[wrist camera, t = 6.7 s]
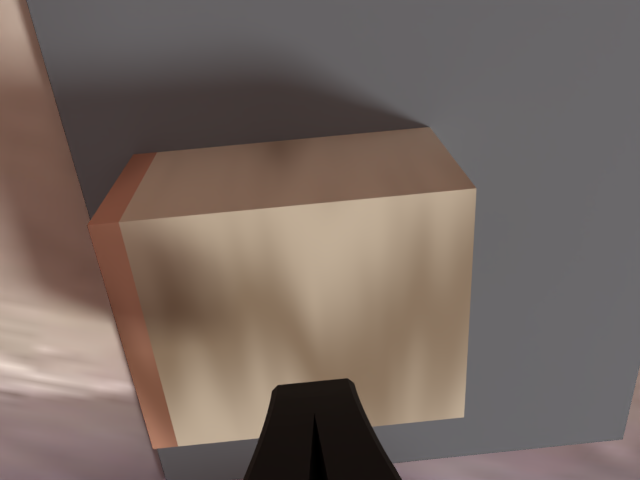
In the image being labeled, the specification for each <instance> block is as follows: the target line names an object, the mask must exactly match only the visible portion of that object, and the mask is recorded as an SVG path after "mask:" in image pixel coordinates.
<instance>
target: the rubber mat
mask: <svg viewBox="0 0 640 480" xmlns="http://www.w3.org/2000/svg"><path fill="white" fill-rule="evenodd" d="M26 1H27V4H28V8H29V11H30V14H31V18H32V21H33V25H34V28H35V32H36V35H37V38H38V42H39V45H40V49H41V52H42V56H43V59H44V62H45V66H46V69H47V73H48V76H49V80H50V83H51V87H52V90H53V93H54V97H55V100H56V104H57V107H58V111H59V114H60V117H61V121H62V124H63V128H64V131H65V135H66V138H67V141H68V145H69V148H70V152H71V155H72V159H73V162H74V166H75V169H76V172H77V176H78V179H79V183H80V186H81V190H82V193H83V196H84V200H85V203H86V207H87V210H88V214H89V217H90V220H91V219H92V217H93V216H94V214H95V212H96V211H97V209H98V208H99V206H100V205H101V203H102V202H103V200H104V199H105V197H106V196H107V194H108V192H109V191H110V189H111V188H112V186H113V185H114V183H115V182H116V180H117V179H118V177H119V176H120V174H121V173H122V171H123V169H124V168H125V166H126V165H127V163H128V162H129V160H130V159H131V157H132V156H133V154H144V153H154V152H165V151H176V150H187V149H198V148H208V147H219V146H230V145H241V144H251V143H262V142H273V141H284V140H295V139H305V138H316V137H327V136H338V135H349V134H359V133H370V132H381V131H392V130H402V129H413V128H424V127H430V128H431V129H432V131H433V132H434V133H435V135H436V136H437V137H438V139H439V140H440V141H441V143H442V144H443V145H444V146H445V148H446V149H447V150H448V152H449V153H450V154H451V156H452V157H453V158H454V160H455V161H456V162H457V163H458V165H459V166H460V167H461V169H462V170H463V171H464V173H465V174H466V175H467V177H468V178H469V179H470V180H471V182H472V183H473V184H474V186H475V187H476V188H477V189H476V207H475V225H474V244H473V262H472V281H471V299H470V317H469V336H468V354H467V373H466V391H465V409H464V417H462V418H452V419H443V420H433V421H423V422H413V423H403V424H394V425H384V426H374V427H372V428H373V430H374V432H375V434H376V436H377V437H378V439H379V441H380V443H381V445H382V447H383V448H384V450H385V452H386V454H387V455H388V457H389V459H390V460H391V462H392V463H399V462H409V461H419V460H428V459H438V458H448V457H457V456H467V455H477V454H486V453H496V452H506V451H515V450H525V449H534V448H544V447H554V446H563V445H573V444H583V443H592V442H602V441H612V440H621V439H623V435H624V431H625V427H626V422H627V418H628V414H629V409H630V405H631V401H632V397H633V392H634V388H635V384H636V379H637V375H638V371H639V366H640V0H26ZM258 440H259V438H256V439H247V440H237V441H227V442H217V443H207V444H198V445H188V446H178V447H168V448H158V449H157V451H158V454H159V457H160V461H161V464H162V468H163V471H164V475H165V478H166V480H235V479H244V476H245V474H246V471H247V469H248V466H249V464H250V461H251V459H252V456H253V454H254V451H255V448H256V445H257V443H258Z"/></svg>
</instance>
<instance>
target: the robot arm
mask: <svg viewBox="0 0 640 480" xmlns="http://www.w3.org/2000/svg"><path fill="white" fill-rule="evenodd" d="M243 480H402V479H401V477H400V476H399V474H398V472H397V470H396V469H395V467H394V465H393V464H392V462H391V460H390V459H389V457H388V455H387V454H386V452H385V450H384V448H383V447H382V445H381V443H380V441H379V439H378V437H377V436H376V434H375V432H374V430H373V428H372V426H371V424H370V422H369V420H368V417H367V415H366V413H365V411H364V409H363V406H362V404H361V402H360V399H359V396H358V394H357V391H356V388H355V384H354V382H352V381H351V380H350V379H348V378H343V379H333V380H323V381H313V382H303V383H293V384H283V385H277V386H276V387H275V388H274V389H273V390H272V393H271V399H270V403H269V407H268V411H267V415H266V418H265V422H264V425H263V428H262V431H261V434H260V437H259V440H258V443H257V445H256V448H255V451H254V454H253V456H252V459H251V461H250V464H249V466H248V469H247V471H246V474H245V476H244V479H243Z"/></svg>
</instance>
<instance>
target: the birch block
mask: <svg viewBox="0 0 640 480" xmlns="http://www.w3.org/2000/svg"><path fill="white" fill-rule="evenodd" d="M476 189H477V188H476V187H475V186H474V184H473V183H472V182H471V180H470V179H469V178H468V177H467V175H466V174H465V173H464V171H463V170H462V169H461V167H460V166H459V165H458V163H457V162H456V161H455V160H454V158H453V157H452V156H451V154H450V153H449V152H448V150H447V149H446V148H445V146H444V145H443V144H442V143H441V141H440V140H439V139H438V137H437V136H436V135H435V133H434V132H433V131H432V129H431V128H430V127H424V128H413V129H402V130H392V131H381V132H370V133H359V134H349V135H338V136H327V137H316V138H305V139H295V140H284V141H273V142H262V143H251V144H241V145H230V146H219V147H208V148H198V149H187V150H176V151H165V152H154V153H144V154H133V156H132V157H131V159H130V160H129V162H128V163H127V165H126V166H125V168H124V169H123V171H122V173H121V174H120V176H119V177H118V179H117V180H116V182H115V183H114V185H113V186H112V188H111V189H110V191H109V192H108V194H107V196H106V197H105V199H104V200H103V202H102V203H101V205H100V206H99V208H98V209H97V211H96V212H95V214H94V216H93V217H92V219H91V220H90V222H89V223H88V225H87V227H88V230H89V233H90V237H91V240H92V244H93V247H94V250H95V254H96V257H97V260H98V264H99V267H100V271H101V274H102V277H103V281H104V284H105V288H106V291H107V294H108V298H109V301H110V305H111V308H112V311H113V315H114V318H115V322H116V325H117V328H118V332H119V335H120V338H121V342H122V345H123V349H124V352H125V355H126V359H127V362H128V366H129V369H130V372H131V376H132V379H133V383H134V386H135V389H136V393H137V396H138V400H139V403H140V406H141V410H142V413H143V417H144V420H145V423H146V427H147V430H148V433H149V437H150V440H151V444H152V447H153V449H158V448H168V447H178V446H188V445H198V444H207V443H217V442H227V441H237V440H247V439H256V438H259V437H260V434H261V431H262V428H263V425H264V422H265V418H266V415H267V411H268V407H269V403H270V399H271V393H272V390H273V389H274V388H275V387H276V386H277V385H283V384H293V383H303V382H313V381H323V380H333V379H343V378H348V379H350V380H351V381H352V382H354V384H355V388H356V391H357V394H358V396H359V399H360V402H361V404H362V406H363V409H364V411H365V413H366V415H367V417H368V420H369V422H370V424H371V426H372V427H374V426H384V425H394V424H403V423H413V422H423V421H433V420H443V419H452V418H462V417H464V409H465V391H466V373H467V354H468V336H469V317H470V299H471V281H472V262H473V244H474V225H475V207H476Z"/></svg>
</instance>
